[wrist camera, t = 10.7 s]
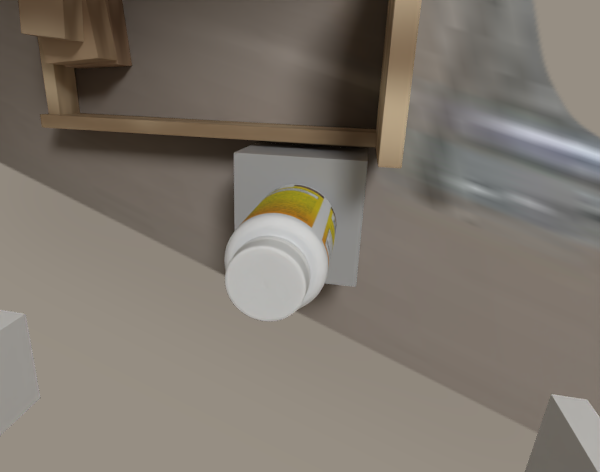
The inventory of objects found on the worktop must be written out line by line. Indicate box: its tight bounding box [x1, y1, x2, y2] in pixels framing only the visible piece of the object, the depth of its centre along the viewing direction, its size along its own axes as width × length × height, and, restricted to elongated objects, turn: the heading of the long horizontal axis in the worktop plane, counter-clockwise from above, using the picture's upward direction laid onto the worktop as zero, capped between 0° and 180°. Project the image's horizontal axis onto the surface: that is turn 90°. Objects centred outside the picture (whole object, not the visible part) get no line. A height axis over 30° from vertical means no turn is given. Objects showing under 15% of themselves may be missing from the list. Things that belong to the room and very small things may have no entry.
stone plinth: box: [234, 142, 368, 287], centre depth 33 cm, size 9×9×7 cm
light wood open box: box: [37, 0, 421, 168], centre depth 27 cm, size 14×28×12 cm, turn 88°
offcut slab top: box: [40, 0, 117, 66], centre depth 31 cm, size 8×4×2 cm, turn 5°
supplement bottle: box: [224, 184, 336, 321], centre depth 24 cm, size 6×6×10 cm
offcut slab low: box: [65, 0, 132, 69], centre depth 33 cm, size 8×4×2 cm, turn 2°
